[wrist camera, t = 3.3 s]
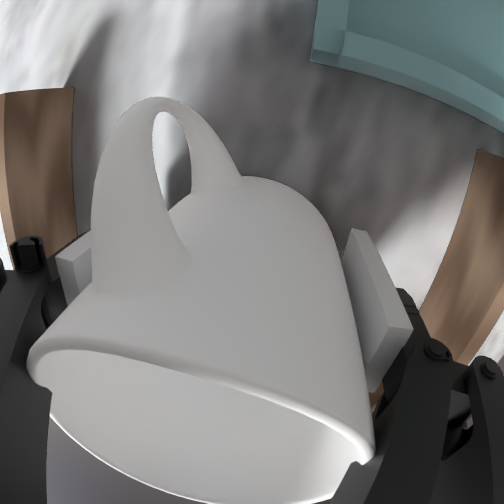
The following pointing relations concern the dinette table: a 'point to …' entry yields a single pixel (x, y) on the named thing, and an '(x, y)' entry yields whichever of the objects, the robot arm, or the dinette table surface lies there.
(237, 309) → the mug
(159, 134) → the dinette table surface
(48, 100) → the bay
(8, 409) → the robot arm
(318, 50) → the tray
